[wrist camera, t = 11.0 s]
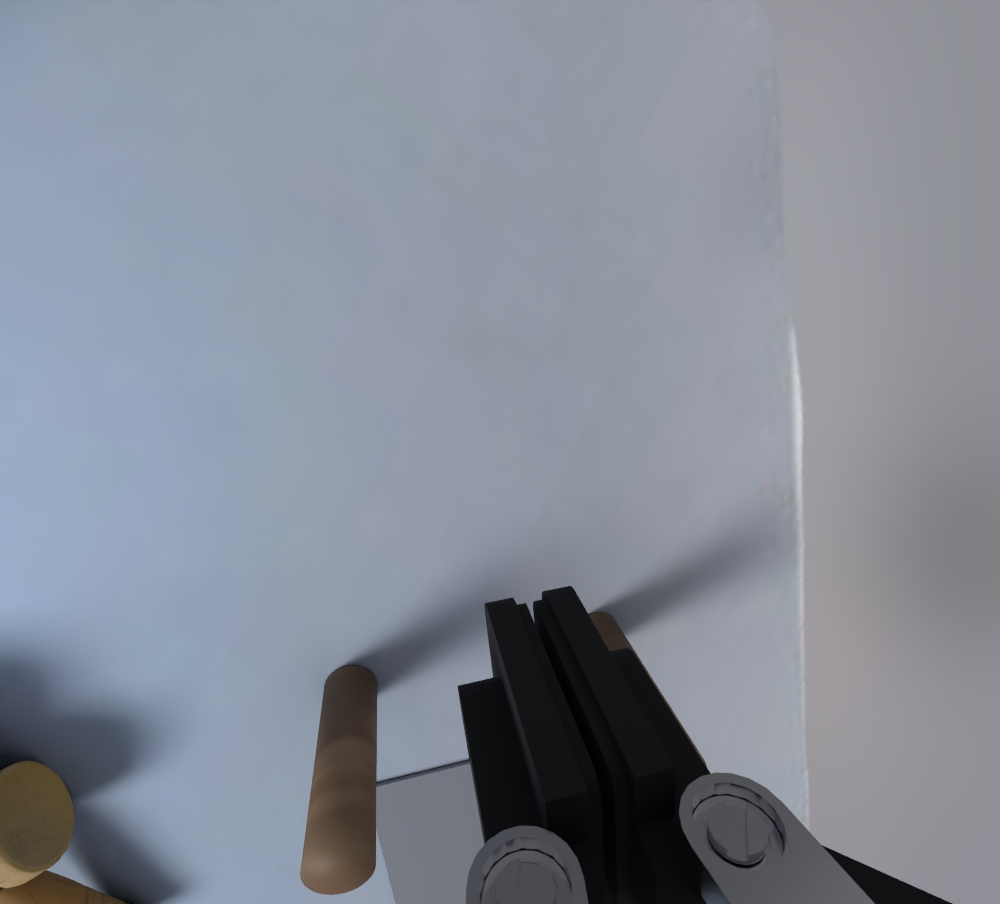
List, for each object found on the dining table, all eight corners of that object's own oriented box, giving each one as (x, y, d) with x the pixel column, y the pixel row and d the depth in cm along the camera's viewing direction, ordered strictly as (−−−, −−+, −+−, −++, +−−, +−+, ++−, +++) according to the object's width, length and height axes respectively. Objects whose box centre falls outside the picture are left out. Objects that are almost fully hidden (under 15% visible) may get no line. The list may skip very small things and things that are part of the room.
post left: (319, 672, 27) (292, 854, 19) (372, 660, 28) (368, 834, 19) (330, 711, 28) (309, 902, 20) (381, 700, 29) (381, 882, 20)
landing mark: (366, 785, 30) (366, 789, 30) (605, 726, 33) (606, 729, 32) (405, 939, 35) (405, 943, 35) (610, 879, 38) (611, 882, 37)
